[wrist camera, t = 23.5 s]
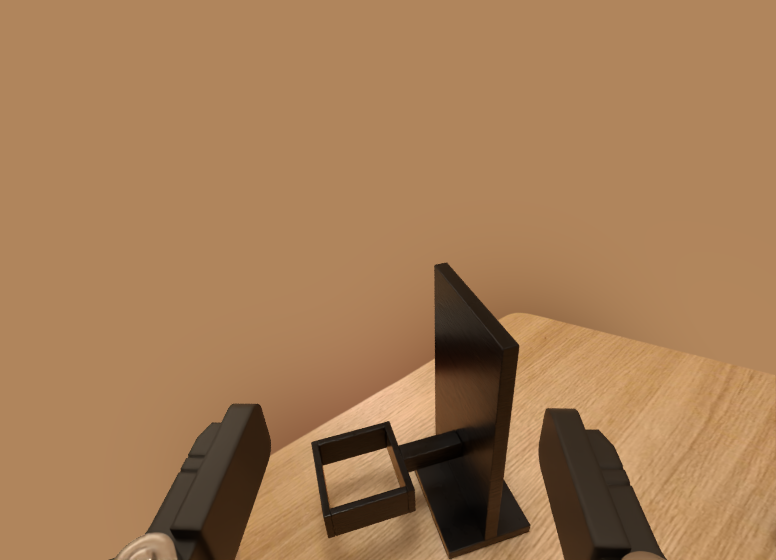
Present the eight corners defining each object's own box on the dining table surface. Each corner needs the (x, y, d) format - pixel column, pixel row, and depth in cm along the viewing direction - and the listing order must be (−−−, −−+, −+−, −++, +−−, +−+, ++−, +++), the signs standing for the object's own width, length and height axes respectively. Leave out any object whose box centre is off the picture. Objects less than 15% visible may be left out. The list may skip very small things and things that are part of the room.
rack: (340, 597, 37) (293, 401, 25) (319, 475, 47) (279, 294, 35) (529, 531, 40) (566, 333, 28) (472, 431, 50) (482, 255, 38)
